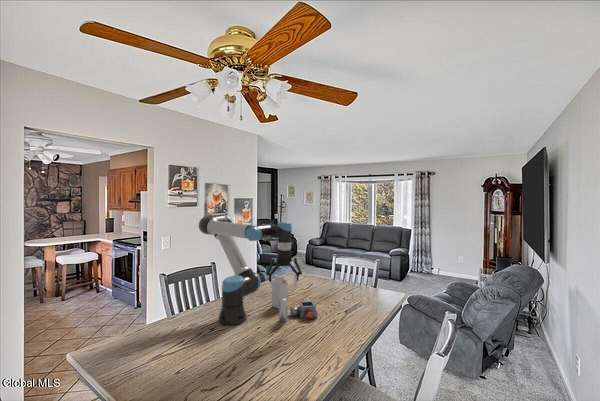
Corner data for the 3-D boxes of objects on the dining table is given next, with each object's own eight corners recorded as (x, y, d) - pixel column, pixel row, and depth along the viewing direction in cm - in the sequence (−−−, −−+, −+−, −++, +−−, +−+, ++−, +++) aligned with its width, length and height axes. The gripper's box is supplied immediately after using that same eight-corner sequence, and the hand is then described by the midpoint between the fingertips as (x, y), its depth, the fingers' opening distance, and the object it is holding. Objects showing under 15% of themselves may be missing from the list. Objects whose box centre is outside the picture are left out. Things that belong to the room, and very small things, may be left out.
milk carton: (279, 309, 177) (280, 278, 177) (271, 306, 181) (271, 276, 181) (287, 305, 183) (287, 276, 183) (278, 303, 187) (279, 274, 187)
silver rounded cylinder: (279, 322, 158) (279, 300, 158) (278, 319, 162) (278, 298, 162) (287, 322, 158) (287, 300, 158) (286, 318, 163) (286, 297, 163)
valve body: (292, 321, 160) (292, 309, 160) (289, 312, 172) (289, 302, 172) (318, 319, 162) (318, 308, 162) (314, 311, 174) (314, 300, 174)
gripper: (262, 250, 155) (261, 290, 155) (307, 250, 159) (306, 288, 160) (261, 248, 162) (261, 285, 162) (304, 248, 167) (304, 284, 167)
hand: (283, 287), depth 161 cm, fingers open, 13 cm apart
